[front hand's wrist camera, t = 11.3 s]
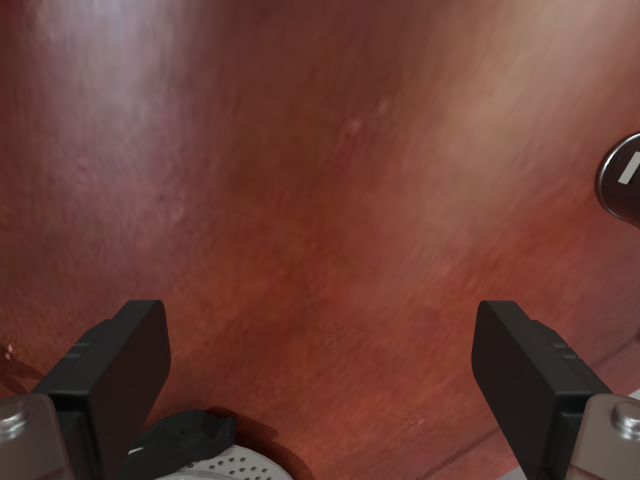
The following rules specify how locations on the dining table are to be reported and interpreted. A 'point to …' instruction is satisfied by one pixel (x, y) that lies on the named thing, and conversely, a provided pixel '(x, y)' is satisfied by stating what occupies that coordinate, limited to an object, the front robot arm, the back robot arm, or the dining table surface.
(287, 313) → the dining table surface
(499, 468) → the dining table surface
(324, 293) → the dining table surface
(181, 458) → the brake disc
